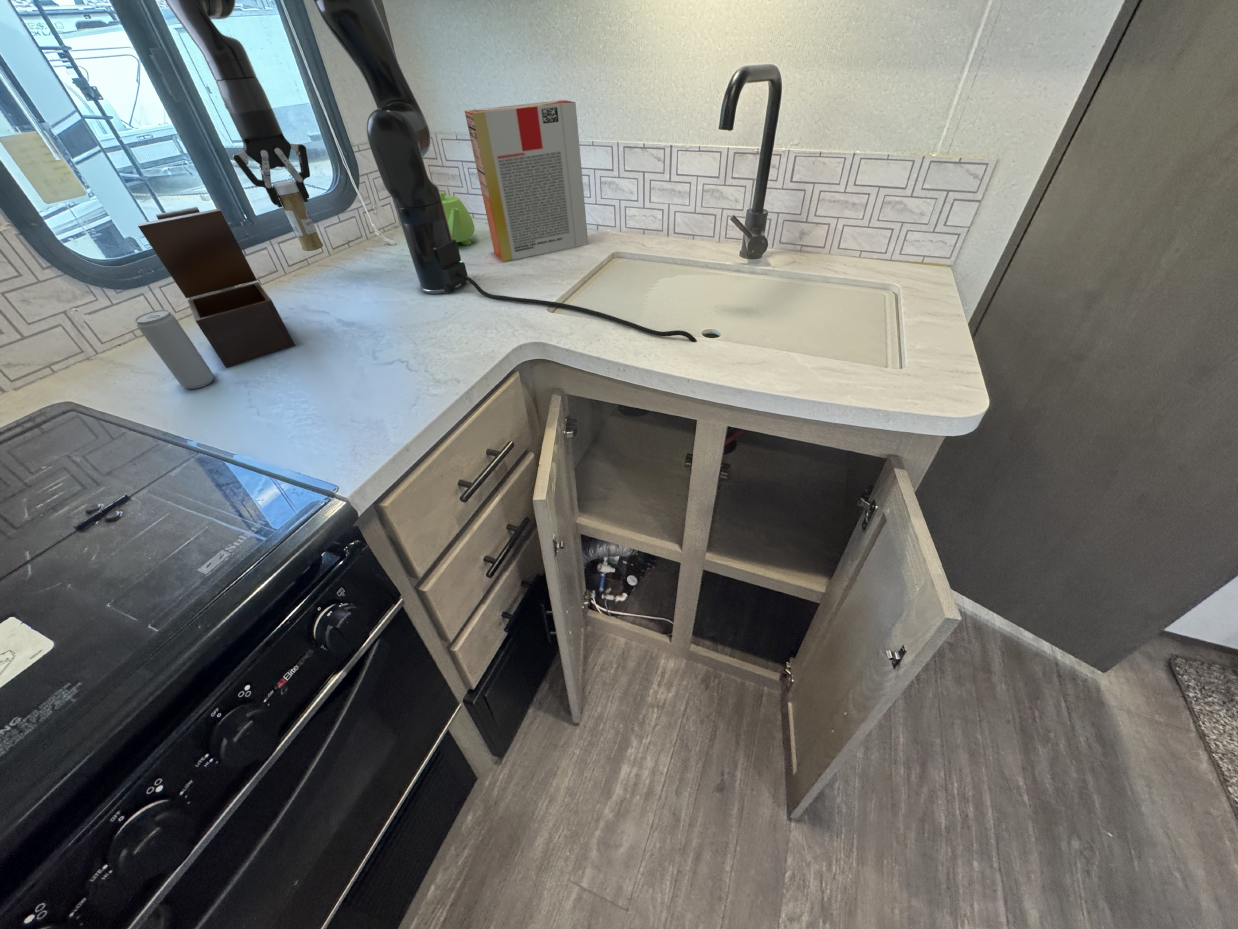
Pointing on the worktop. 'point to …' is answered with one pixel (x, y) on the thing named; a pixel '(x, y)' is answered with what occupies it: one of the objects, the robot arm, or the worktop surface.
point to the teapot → (458, 219)
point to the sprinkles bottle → (298, 215)
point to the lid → (198, 250)
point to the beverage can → (175, 348)
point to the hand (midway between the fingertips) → (293, 203)
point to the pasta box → (530, 177)
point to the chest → (241, 323)
